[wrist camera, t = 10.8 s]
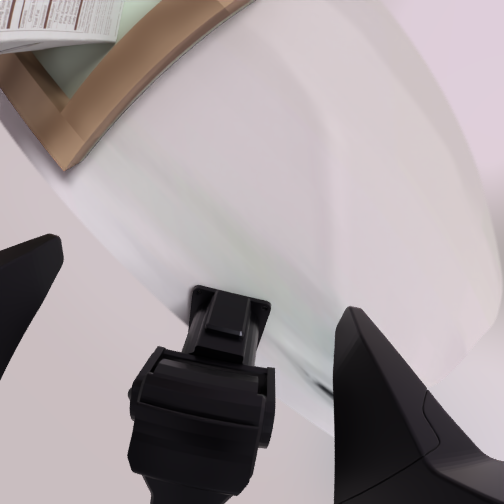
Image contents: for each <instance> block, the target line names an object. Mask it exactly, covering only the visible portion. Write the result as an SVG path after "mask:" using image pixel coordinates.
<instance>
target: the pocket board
mask: <svg viewBox="0 0 504 504" xmlns="http://www.w3.org/2000/svg"><path fill="white" fill-rule="evenodd" d="M254 1H255V0H125V2H124V7H123V11H122V16H121V20H120V26H119V30H118V35H117V39H116V43H98V44H83V45H72V46H63V47H54V48H49V49H44V50H37V51H25V52H15V53H6V54H0V88H1V89H2V91H3V92H4V94H5V95H6V97H7V98H8V99H9V101H10V102H11V104H12V105H13V106H14V108H15V109H16V111H17V112H18V113H19V115H20V116H21V117H22V119H23V120H24V122H25V123H26V124H27V126H28V127H29V128H30V130H31V131H32V132H33V134H34V135H35V136H36V137H37V139H38V140H39V141H40V143H41V144H42V145H43V146H44V148H45V149H46V150H47V152H48V153H49V154H50V155H51V157H52V158H53V159H54V160H55V161H56V163H57V164H58V165H59V166H60V168H61V169H62V170H63V171H66V170H67V169H69V168H71V167H73V166H74V165H76V164H78V163H80V162H82V161H83V160H84V158H85V157H86V156H87V155H88V153H89V152H90V151H91V150H92V148H93V147H94V146H95V145H96V144H97V142H98V141H99V140H100V139H101V138H102V136H103V135H104V134H105V133H106V132H107V131H108V129H109V128H110V127H111V126H112V125H113V124H114V123H115V121H116V120H117V119H118V118H119V117H120V116H121V115H122V114H123V113H124V112H125V110H126V109H127V108H128V107H129V106H130V105H131V104H132V103H133V102H134V101H135V100H136V99H137V98H138V97H139V96H140V95H141V94H142V93H143V92H144V91H145V90H146V89H147V88H148V87H149V86H150V85H151V84H152V83H153V82H154V81H155V80H156V79H157V78H158V77H159V76H160V75H161V74H162V73H163V72H165V71H166V70H167V69H168V68H169V67H170V66H171V65H172V64H173V63H174V62H176V61H177V60H178V59H179V58H180V57H181V56H182V55H184V54H185V53H186V52H187V51H188V50H189V49H191V48H192V47H193V46H194V45H195V44H197V43H198V42H199V41H200V40H202V39H203V38H204V37H205V36H207V35H208V34H209V33H210V32H212V31H213V30H214V29H216V28H217V27H218V26H220V25H221V24H222V23H224V22H225V21H226V20H228V19H229V18H230V17H232V16H233V15H235V14H236V13H237V12H239V11H240V10H242V9H243V8H245V7H246V6H248V5H249V4H251V3H252V2H254Z"/></svg>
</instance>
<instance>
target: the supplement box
mask: <svg viewBox="0 0 504 504" xmlns="http://www.w3.org/2000/svg"><path fill="white" fill-rule="evenodd" d="M124 2H125V0H0V54H6V53H15V52H25V51H37V50H44V49H49V48H54V47H63V46H72V45H83V44H98V43H116V39H117V35H118V30H119V26H120V20H121V16H122V11H123V7H124Z"/></svg>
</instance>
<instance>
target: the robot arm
mask: <svg viewBox="0 0 504 504" xmlns="http://www.w3.org/2000/svg"><path fill="white" fill-rule="evenodd" d="M63 260H64V256H63V250H62V244H61V239H60V237H59V236H57V235H53V234H46V235H43V236H40V237H37V238H34V239H32V240H29V241H26V242H23V243H20V244H18V245H15V246H12V247H9V248H7V249H4V250H1V251H0V380H1V378H2V375H3V373H4V371H5V369H6V367H7V365H8V363H9V361H10V359H11V357H12V356H13V354H14V352H15V350H16V348H17V346H18V344H19V342H20V341H21V339H22V337H23V335H24V333H25V332H26V330H27V328H28V326H29V325H30V323H31V321H32V319H33V318H34V316H35V314H36V312H37V311H38V309H39V308H40V306H41V304H42V303H43V301H44V299H45V297H46V295H47V293H48V291H49V289H50V287H51V285H52V283H53V282H54V280H55V278H56V276H57V274H58V272H59V270H60V268H61V266H62V264H63ZM198 291H201V292H198ZM263 306H266V307H267V308H264V307H263ZM270 311H271V304H270V303H269V302H268V301H264V300H260V299H256V298H251V297H247V296H243V295H238V294H234V293H230V292H226V291H221V290H217V289H213V288H209V287H205V286H201V285H197V286H195V287H194V290H193V294H192V303H191V312H190V321H189V330H188V335H187V338H186V341H185V344H184V346H183V349H182V352H176V351H172V350H168V349H165V348H164V347H160V346H158V347H157V348H156V350H155V352H154V353H153V354H152V355H151V356H150V358H149V359H148V361H147V362H146V364H145V365H144V367H143V368H142V370H141V371H140V373H139V374H138V376H137V377H136V379H135V380H134V382H133V385H132V388H130V390H129V392H128V397H129V399H130V416H131V419H132V420H133V421H134V426H133V432H132V437H131V441H130V446H129V450H128V455H127V456H128V460H129V463H130V467H131V470H132V471H133V472H134V473H137V474H141V475H142V476H143V478H144V480H145V482H146V484H147V486H148V488H149V490H150V492H151V502H150V504H224V503H225V502H226V501H227V500H228V499H229V498H231V497H232V496H233V495H234V496H237V495H239V494H240V493H241V492H242V491H243V489H244V488H245V487H246V485H248V483H249V479H250V478H251V477H252V475H253V470H254V466H255V461H256V456H257V450H258V448H267V447H268V444H269V441H270V438H271V433H272V429H273V423H274V416H275V368H271V367H267V368H262V367H256V366H254V365H255V357H256V350H257V348H258V345H259V342H260V339H261V336H262V334H263V331H264V328H265V325H266V322H267V319H268V316H269V314H270ZM333 396H334V433H335V484H334V504H504V461H499V460H496V459H493V458H490V457H489V456H487V455H486V454H484V453H483V452H482V451H481V450H480V449H479V448H478V447H477V446H476V445H475V444H474V443H473V442H472V441H471V439H470V438H469V437H468V436H467V435H466V434H465V433H464V432H463V430H462V429H461V428H460V427H459V426H458V425H457V424H456V423H455V422H454V420H453V419H452V418H451V417H450V416H449V415H448V414H447V412H446V411H445V410H444V409H443V408H442V406H441V405H440V404H439V403H438V402H437V400H436V399H435V398H434V396H433V395H432V394H431V393H430V391H429V390H427V388H426V386H425V385H424V384H423V383H422V381H421V380H420V379H419V378H418V376H417V375H416V374H415V373H414V371H413V370H412V369H411V368H410V366H409V365H408V364H407V363H406V361H405V360H404V359H403V358H402V356H401V355H400V354H399V353H398V352H397V350H396V349H395V348H394V347H393V346H392V344H391V343H390V342H389V341H388V339H387V338H386V337H385V336H384V335H383V333H382V332H381V331H380V330H379V329H378V328H377V326H376V325H375V324H374V323H373V322H372V320H371V319H370V318H369V317H368V316H367V315H366V313H365V312H364V311H363V310H362V309H361V308H357V307H352V306H349V307H347V308H346V310H345V311H344V313H343V315H342V317H341V319H340V321H339V323H338V325H337V327H336V331H335V348H334V365H333Z"/></svg>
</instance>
